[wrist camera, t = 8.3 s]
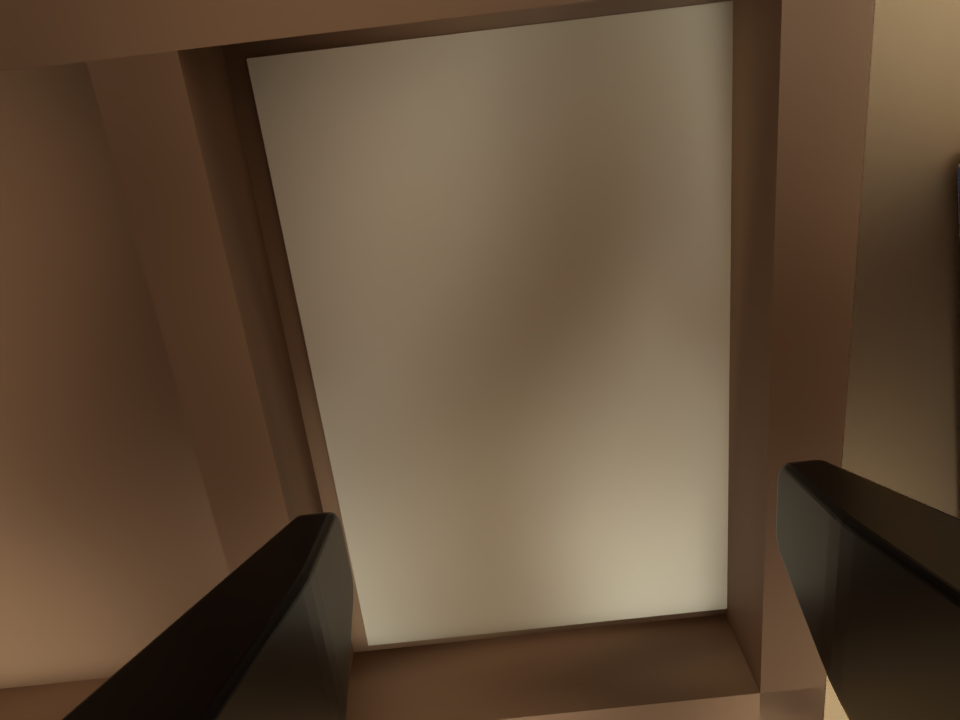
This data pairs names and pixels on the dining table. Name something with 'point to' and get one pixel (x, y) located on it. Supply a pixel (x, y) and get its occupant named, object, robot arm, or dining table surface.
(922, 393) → the dining table surface
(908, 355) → the dining table surface
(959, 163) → the medicine box
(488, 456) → the tray
